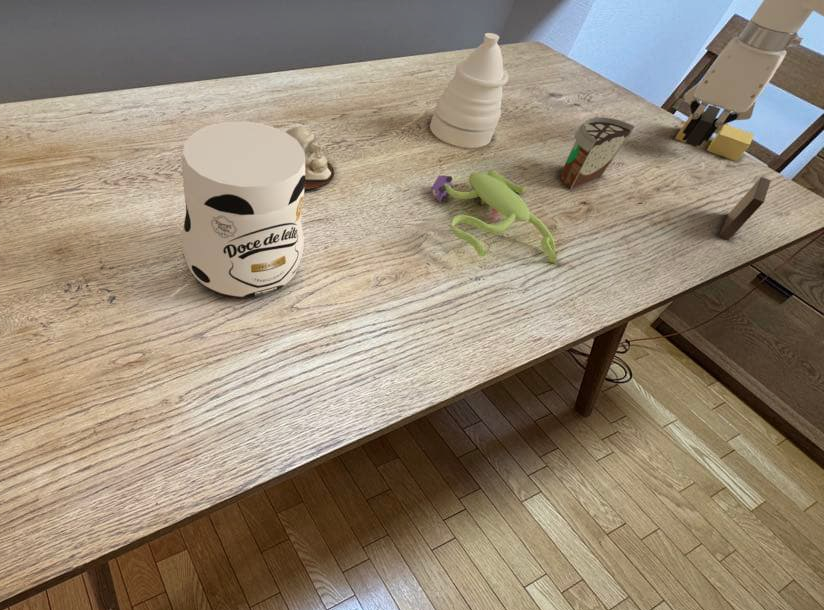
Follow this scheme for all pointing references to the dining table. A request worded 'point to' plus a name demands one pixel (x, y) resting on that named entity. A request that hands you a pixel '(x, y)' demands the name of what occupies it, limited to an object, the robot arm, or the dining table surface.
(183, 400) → the dining table surface
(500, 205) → the figurine
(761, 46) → the robot arm
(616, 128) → the food container
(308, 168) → the cream carved statuette
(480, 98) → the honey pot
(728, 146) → the butter block
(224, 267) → the milk container
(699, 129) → the knife
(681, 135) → the block
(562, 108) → the dining table surface
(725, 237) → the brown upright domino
